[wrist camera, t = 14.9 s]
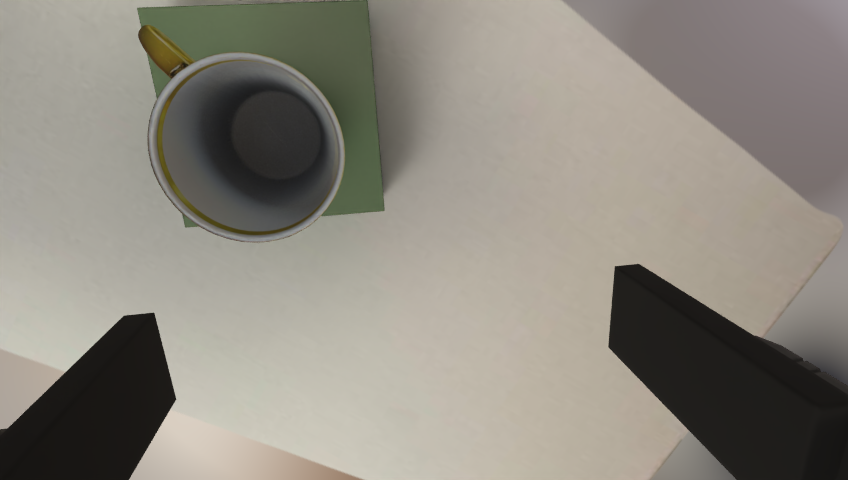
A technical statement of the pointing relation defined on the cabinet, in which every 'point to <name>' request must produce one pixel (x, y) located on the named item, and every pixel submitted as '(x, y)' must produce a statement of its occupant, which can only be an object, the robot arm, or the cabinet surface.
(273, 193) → the ceramic cup
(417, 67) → the cabinet surface
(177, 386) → the cabinet surface
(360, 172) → the green block
